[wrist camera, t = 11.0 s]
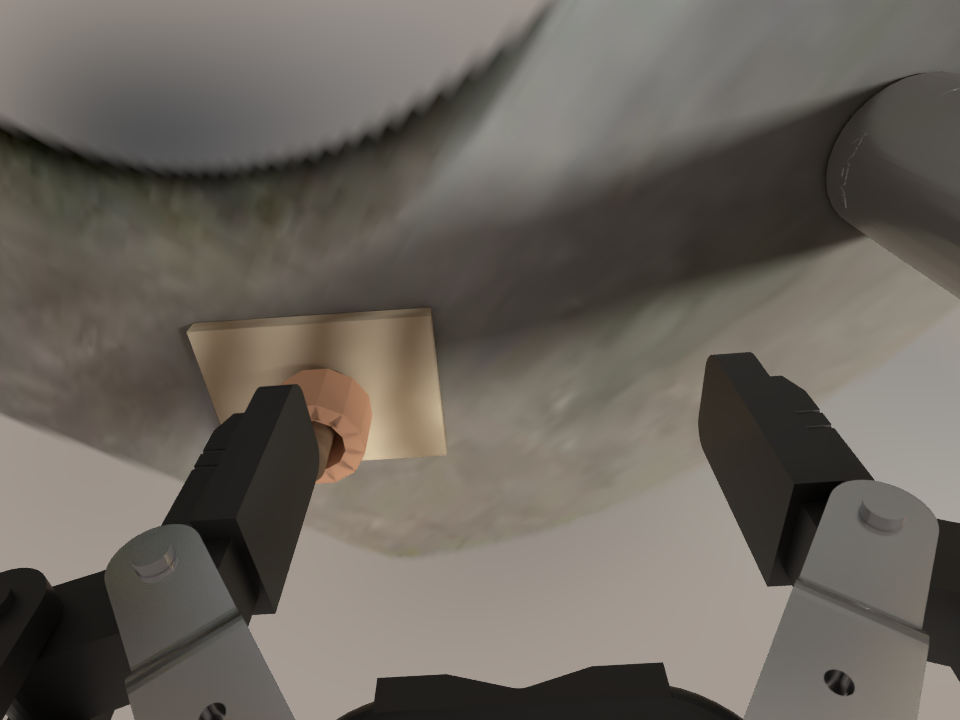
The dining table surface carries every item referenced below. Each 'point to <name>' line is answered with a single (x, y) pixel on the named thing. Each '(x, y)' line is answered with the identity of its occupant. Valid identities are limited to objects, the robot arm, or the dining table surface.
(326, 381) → the ring
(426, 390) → the base board
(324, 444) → the post
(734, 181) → the dining table surface
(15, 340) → the dining table surface
